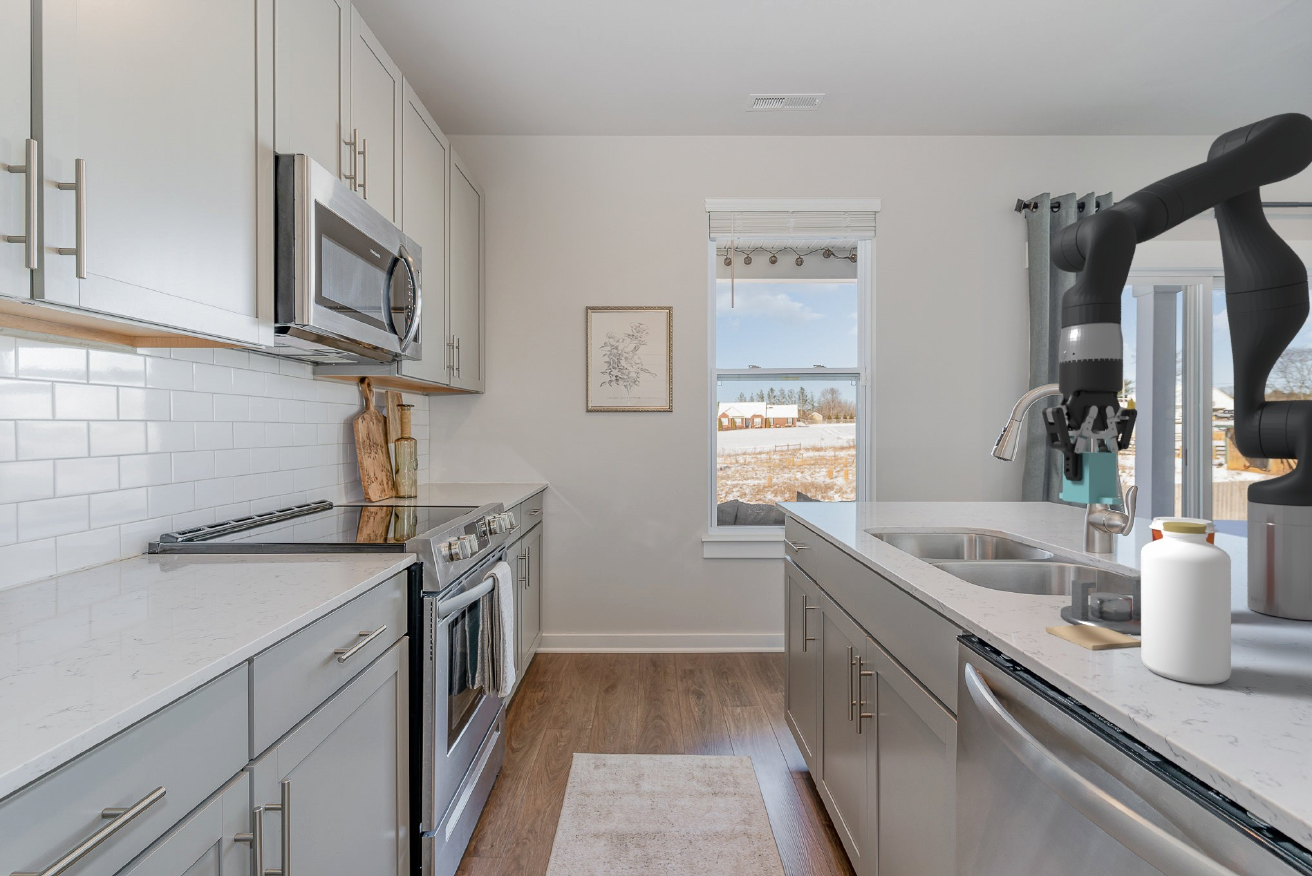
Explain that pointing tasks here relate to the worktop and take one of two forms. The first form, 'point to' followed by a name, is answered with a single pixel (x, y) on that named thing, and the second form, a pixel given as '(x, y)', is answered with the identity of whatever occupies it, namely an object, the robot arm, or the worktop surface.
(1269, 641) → the worktop surface
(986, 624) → the worktop surface
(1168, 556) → the potion bottle
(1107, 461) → the teal block with tabs
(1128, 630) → the grey round stand
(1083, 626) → the coaster
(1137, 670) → the worktop surface
